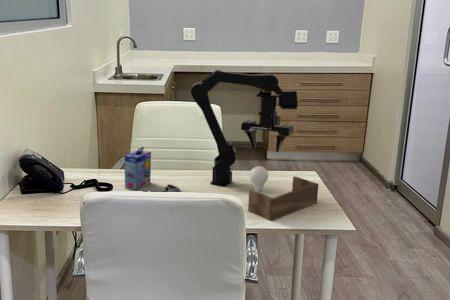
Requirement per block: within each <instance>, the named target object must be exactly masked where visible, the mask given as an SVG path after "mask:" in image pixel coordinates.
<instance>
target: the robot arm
mask: <svg viewBox="0 0 450 300" xmlns="http://www.w3.org/2000/svg"><path fill="white" fill-rule="evenodd" d="M219 83H226V84H234V85H242V86H251V87H254V88H257V89H259V90H258V91H257V92H256V93H254V94H255V97H257V98H260V100H259V101H260V104H259V111H258V116H259V120H258V121H259V122H258V123H257V121H256V120H244V121H243V122H242V123H241V125H240V130H241V131H243V133H245V134H246V135H247V137H248V139H249V141H250V143H251V144H250V145H251V146H252V149H253V150H255V149H256V146H257V131H258V130H260V131H268V132H276V133H278V135H276V143H275V144H276V146H275V147H276V151H275V152H276V153H280V152H279V151H280V149H281V147H282V145H283V142H284V141H285V139H286V138H287V137H289V136H291V135H293V134H294V127H293V125H289V124H282V125H281V122H282V121H281V120H282V117H281V116H279V115H278V111H277V107H279V109H280V110H297V109H298V105H299V100H298V91H296V90H282V88H281V87H280V85H279V79H278V77H276V75H274V74H273V73H268V72H267V73H257V74H248V73H241V72H232V71H223V70H220V69H216V70H214V71H213V72H212V73H211V74H210V75H208V76H207V77H205V78H203V79H202V80H201V81H198V82H197V81H196V82H195V83H193V84H192V86H191V89H190V95H191V97H192V99H193V100H194V102H195V104H196V105H197V106H198V107H199V109H200V110H201V112H202V114H203V116H204V118H205V121H206V123H207V126H208V127H209V130H210V132H211V135H212V136H213V139H214V141H215V143H216V147H217V152H218V155H217V156H216V157H215V158H213V163H214V164H213V165H214V166H212V176H211V177H212V178H211V179H212V180H211V181H210V182H209V184H211V185H216V186H220V187H227V186H228V185H231V184H232V183H234V182H233V172H232V167H231V166H233V165H234V164H235V163H236V161H237V157H236V156H237V151H236V148H235V147H234V145H233V141H232V140H230V141H228V140H227V138H226V136H225V135H224V132H223V130H222V128H221V125H220V123H219V121H218V119H217V116H216V114H215V111H214V109H213V107H212V105H211V101H210V95H209V92H210V91H211V90H212V89H213V88H215V86H217V84H219ZM262 90H263V91H262ZM271 92H273V93H275V94H272V93H271Z"/></svg>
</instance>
